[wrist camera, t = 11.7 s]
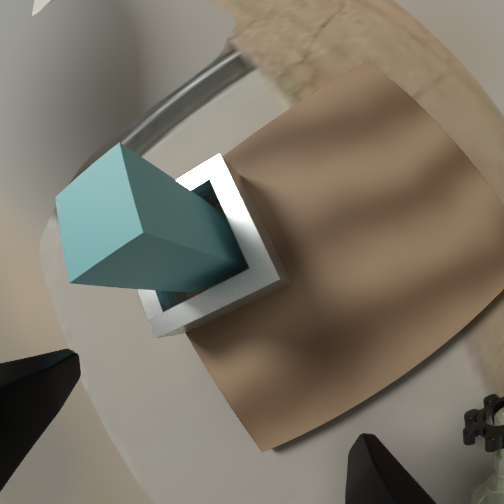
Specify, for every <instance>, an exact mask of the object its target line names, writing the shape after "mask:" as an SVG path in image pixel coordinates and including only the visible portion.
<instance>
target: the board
mask: <svg viewBox="0 0 504 504" xmlns="http://www.w3.org/2000/svg"><path fill="white" fill-rule="evenodd" d="M223 157H224V158H225V159H226V161H227V162H228V163H229V164H230V165H231V166H232V167H233V168H234V169H235V171H236V172H237V173H238V174H239V175H240V177H241V179H242V181H243V183H244V185H245V187H246V189H247V191H248V193H249V195H250V197H251V199H252V202H253V204H254V206H255V208H256V210H257V212H258V214H259V216H260V218H261V220H262V222H263V224H264V226H265V228H266V230H267V232H268V234H269V236H270V238H271V240H272V243H273V245H274V247H275V249H276V251H277V253H278V255H279V257H280V259H281V261H282V263H283V265H284V268H285V270H286V272H287V274H288V276H289V278H290V280H291V283H289V284H287V285H285V286H283V287H281V288H279V289H277V290H275V291H273V292H271V293H269V294H267V295H265V296H263V297H261V298H259V299H257V300H255V301H252V302H250V303H248V304H246V305H244V306H242V307H240V308H238V309H236V310H234V311H231V312H229V313H227V314H225V315H223V316H221V317H219V318H216V319H214V320H212V321H210V322H208V323H205V324H203V325H201V326H199V327H197V328H194V329H192V330H190V331H188V332H186V334H187V336H188V338H189V340H190V341H191V343H192V345H193V347H194V348H195V350H196V352H197V353H198V355H199V357H200V358H201V360H202V362H203V363H204V365H205V367H206V368H207V370H208V372H209V373H210V375H211V377H212V378H213V380H214V381H215V383H216V385H217V386H218V388H219V389H220V391H221V393H222V394H223V396H224V397H225V399H226V400H227V402H228V403H229V405H230V406H231V408H232V409H233V411H234V412H235V414H236V415H237V417H238V418H239V420H240V421H241V423H242V424H243V426H244V427H245V429H246V430H247V432H248V433H249V434H250V436H251V437H252V439H253V440H254V442H255V443H256V444H257V446H258V447H259V449H260V450H261V451H262V453H263V452H265V451H267V450H270V449H272V448H274V447H277V446H279V445H281V444H283V443H285V442H288V441H290V440H292V439H294V438H296V437H298V436H300V435H302V434H304V433H307V432H309V431H311V430H312V429H314V428H316V427H318V426H320V425H322V424H324V423H326V422H328V421H330V420H332V419H333V418H335V417H337V416H339V415H341V414H342V413H344V412H346V411H348V410H349V409H351V408H353V407H354V406H356V405H358V404H359V403H361V402H363V401H364V400H366V399H368V398H369V397H371V396H372V395H374V394H376V393H377V392H379V391H380V390H382V389H383V388H385V387H386V386H388V385H389V384H391V383H392V382H394V381H395V380H397V379H398V378H400V377H401V376H403V375H404V374H405V373H407V372H408V371H410V370H411V369H412V368H414V367H415V366H416V365H418V364H419V363H420V362H422V361H423V360H424V359H426V358H427V357H428V356H430V355H431V354H432V353H433V352H435V351H436V350H437V349H439V348H440V347H441V346H442V345H443V344H445V343H446V342H447V341H448V340H450V339H451V338H452V337H453V336H454V335H455V334H457V333H458V332H459V331H460V330H461V329H462V328H464V327H465V326H466V325H467V324H468V323H469V322H470V321H471V320H472V319H474V318H475V317H476V316H477V315H478V314H479V313H480V312H481V311H482V310H483V309H484V308H485V307H486V306H487V305H488V304H489V303H490V302H491V301H492V300H493V299H494V298H495V297H496V296H497V295H498V294H499V293H500V292H501V291H502V290H503V289H504V206H503V204H502V203H501V201H500V200H499V198H498V197H497V195H496V194H495V192H494V191H493V190H492V188H491V187H490V185H489V184H488V183H487V181H486V180H485V179H484V177H483V176H482V175H481V173H480V172H479V171H478V170H477V168H476V167H475V166H474V164H473V163H472V162H471V161H470V160H469V158H468V157H467V156H466V155H465V153H464V152H463V151H462V150H461V149H460V148H459V146H458V145H457V144H456V143H455V142H454V141H453V140H452V138H451V137H450V136H449V135H448V134H447V133H446V132H445V131H444V130H443V129H442V127H441V126H440V125H439V124H438V123H437V122H436V121H435V120H434V119H433V118H432V117H431V116H430V115H429V114H428V113H427V112H426V111H425V110H424V109H423V108H422V107H421V106H420V105H419V104H418V103H417V102H416V101H415V100H414V99H413V98H411V97H410V96H409V95H408V94H407V93H406V92H405V91H404V90H403V89H402V88H401V87H399V86H398V85H397V84H396V83H395V82H394V81H393V80H391V79H390V78H389V77H388V76H387V75H385V74H384V73H383V72H382V71H381V70H379V69H378V68H377V67H376V66H374V65H373V64H372V63H371V62H369V61H367V62H365V63H363V64H361V65H360V66H358V67H356V68H354V69H353V70H351V71H349V72H348V73H346V74H344V75H342V76H341V77H339V78H337V79H336V80H334V81H333V82H331V83H329V84H328V85H326V86H324V87H323V88H321V89H320V90H318V91H316V92H315V93H313V94H312V95H310V96H309V97H307V98H305V99H304V100H302V101H301V102H299V103H298V104H296V105H295V106H293V107H292V108H290V109H289V110H287V111H286V112H284V113H283V114H281V115H280V116H278V117H277V118H275V119H274V120H273V121H271V122H270V123H268V124H267V125H265V126H264V127H263V128H261V129H260V130H258V131H257V132H255V133H254V134H253V135H251V136H250V137H249V138H247V139H246V140H244V141H243V142H242V143H240V144H239V145H238V146H236V147H235V148H234V149H232V150H231V151H230V152H228V153H227V154H226V155H224V156H223ZM214 207H216V208H217V209H218V210H220V211H221V212H223V213H224V214H225V212H224V210H223V208H222V206H221V203H219V204H218V205H216V206H214ZM225 216H226V215H225ZM226 218H227V217H226ZM227 220H228V219H227ZM228 222H229V221H228ZM229 225H230V224H229ZM230 227H231V226H230ZM231 229H232V228H231ZM232 232H233V230H232ZM233 234H234V232H233ZM234 236H235V235H234ZM235 238H236V237H235ZM236 241H237V239H236ZM237 243H238V241H237ZM238 245H239V244H238ZM239 248H240V246H239ZM240 250H241V248H240ZM241 252H242V250H241ZM242 254H243V253H242ZM243 257H244V255H243ZM244 259H245V257H244ZM245 261H246V259H245ZM246 263H247V261H246ZM247 266H248V264H247ZM248 269H250V268H249V266H248V267H247V268H245V269H243V270H241V271H239V272H237V273H235V274H233V275H231V276H229V277H227V278H225V279H223V280H221V281H219V282H217V283H215V284H213V285H211V286H209V287H207V288H205V289H203V290H201V291H199V292H197V293H191V292H184V294H185V297H186V300H189V299H191V298H193V297H195V296H196V295H198V294H200V293H202V292H204V291H206V290H208V289H210V288H212V287H214V286H216V285H218V284H220V283H222V282H224V281H226V280H228V279H230V278H232V277H234V276H236V275H238V274H240V273H242V272H244V271H246V270H248Z"/></svg>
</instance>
